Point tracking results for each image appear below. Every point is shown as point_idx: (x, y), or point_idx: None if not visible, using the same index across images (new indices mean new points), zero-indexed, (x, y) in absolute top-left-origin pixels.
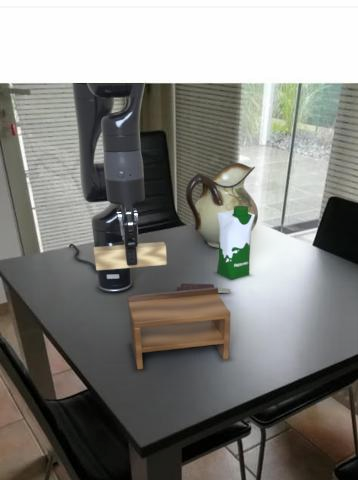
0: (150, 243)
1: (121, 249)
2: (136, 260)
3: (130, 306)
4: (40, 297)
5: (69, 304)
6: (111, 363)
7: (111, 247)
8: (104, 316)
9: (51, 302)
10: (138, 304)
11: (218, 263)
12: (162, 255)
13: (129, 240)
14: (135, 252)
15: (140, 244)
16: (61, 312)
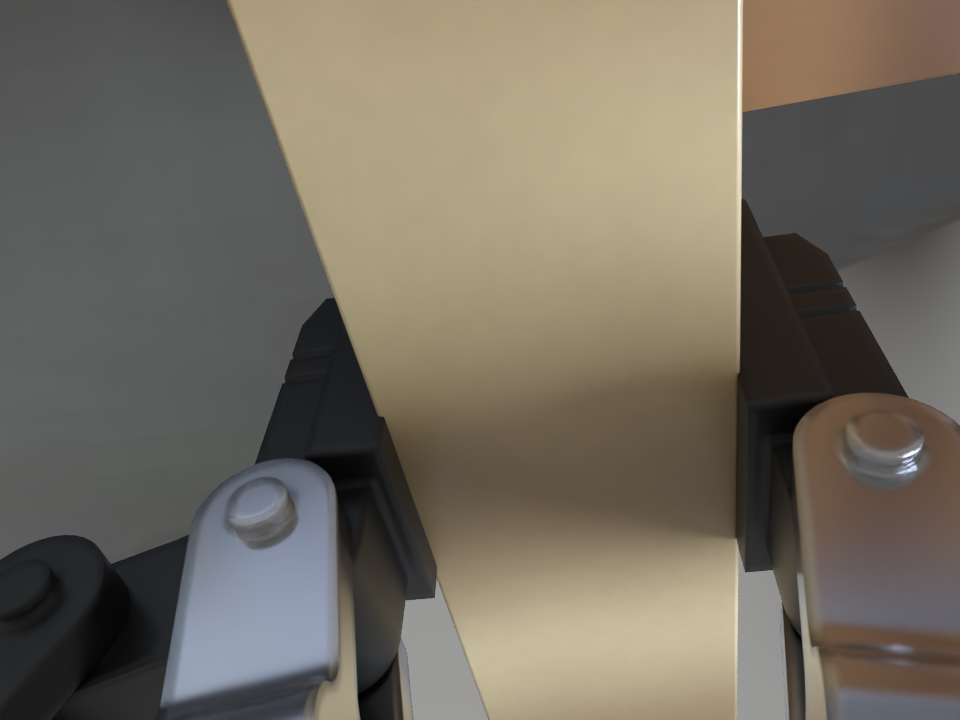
0: (309, 22)
1: (728, 588)
2: (761, 236)
3: (841, 88)
4: None
5: (77, 423)
6: (848, 102)
7: (573, 694)
8: (192, 221)
9: (80, 499)
10: (812, 2)
11: None
12: None
13: (378, 558)
14: (798, 339)
15: (411, 296)
16: (189, 441)
